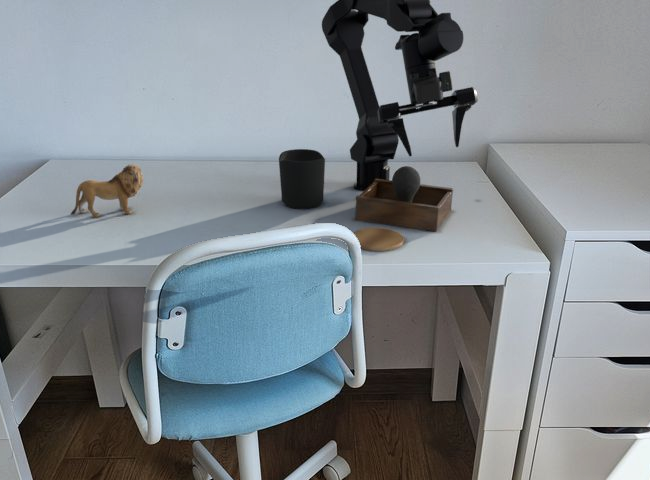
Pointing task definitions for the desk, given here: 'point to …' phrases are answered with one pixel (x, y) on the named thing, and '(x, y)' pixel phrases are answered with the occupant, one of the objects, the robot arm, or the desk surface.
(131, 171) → the lion figurine
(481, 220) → the desk surface
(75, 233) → the desk surface
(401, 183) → the light bulb
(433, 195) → the wooden cubby shelf
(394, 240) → the coaster
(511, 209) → the desk surface
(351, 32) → the robot arm
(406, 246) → the desk surface
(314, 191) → the pen holder
